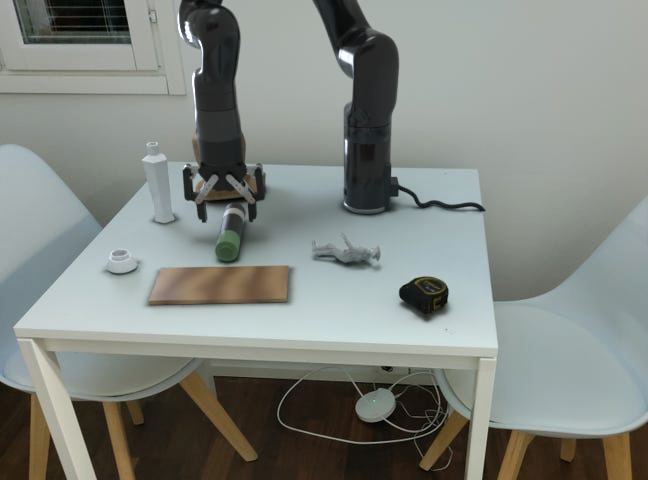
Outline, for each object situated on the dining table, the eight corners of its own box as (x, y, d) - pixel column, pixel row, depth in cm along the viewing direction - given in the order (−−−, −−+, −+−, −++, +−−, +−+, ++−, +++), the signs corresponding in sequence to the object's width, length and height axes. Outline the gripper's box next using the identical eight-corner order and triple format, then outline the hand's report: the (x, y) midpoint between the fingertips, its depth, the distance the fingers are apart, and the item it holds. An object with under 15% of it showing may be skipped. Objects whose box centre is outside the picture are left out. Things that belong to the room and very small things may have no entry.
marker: (226, 219, 139) (224, 199, 136) (247, 219, 139) (245, 199, 136) (215, 263, 124) (213, 242, 121) (238, 263, 124) (236, 242, 122)
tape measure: (396, 302, 113) (397, 282, 111) (429, 290, 116) (430, 270, 114) (422, 321, 109) (424, 301, 106) (456, 308, 112) (458, 288, 109)
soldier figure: (326, 251, 130) (386, 240, 125) (326, 276, 128) (388, 265, 124) (307, 236, 123) (370, 224, 118) (307, 263, 121) (371, 251, 117)
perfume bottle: (171, 224, 136) (159, 149, 128) (150, 222, 137) (136, 147, 128) (181, 215, 140) (169, 140, 131) (160, 213, 141) (147, 139, 132)
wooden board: (288, 269, 122) (288, 265, 122) (286, 302, 113) (286, 298, 113) (161, 271, 121) (161, 267, 121) (149, 305, 112) (148, 300, 112)
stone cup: (196, 210, 142) (185, 136, 133) (196, 187, 152) (186, 117, 143) (270, 204, 144) (265, 131, 135) (266, 182, 154) (261, 113, 145)
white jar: (124, 258, 125) (102, 270, 122) (121, 243, 123) (98, 254, 120) (143, 266, 123) (121, 278, 120) (140, 251, 121) (118, 262, 118)
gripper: (262, 125, 122) (268, 212, 132) (180, 125, 122) (192, 212, 131) (259, 139, 116) (265, 229, 126) (173, 139, 116) (185, 230, 125)
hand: (228, 220), depth 129 cm, fingers open, 8 cm apart
